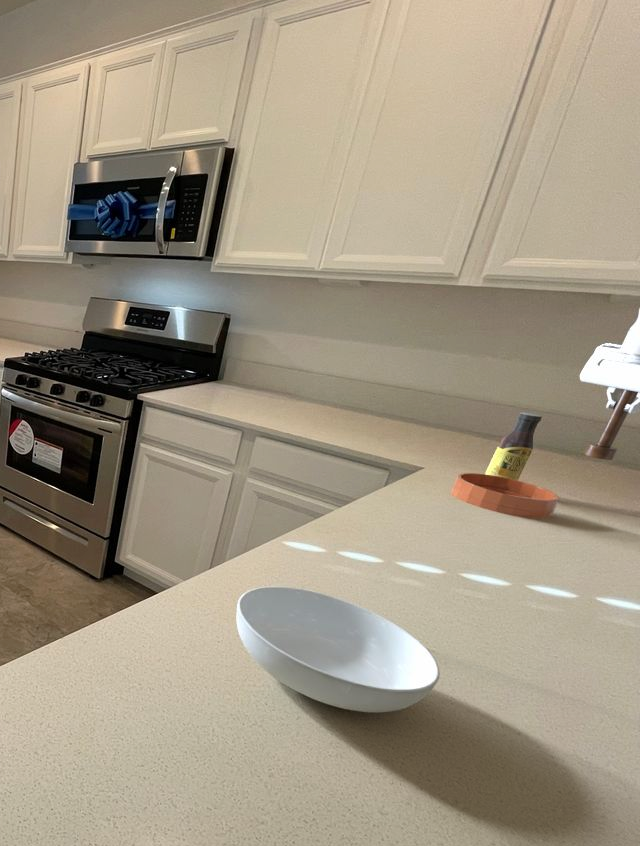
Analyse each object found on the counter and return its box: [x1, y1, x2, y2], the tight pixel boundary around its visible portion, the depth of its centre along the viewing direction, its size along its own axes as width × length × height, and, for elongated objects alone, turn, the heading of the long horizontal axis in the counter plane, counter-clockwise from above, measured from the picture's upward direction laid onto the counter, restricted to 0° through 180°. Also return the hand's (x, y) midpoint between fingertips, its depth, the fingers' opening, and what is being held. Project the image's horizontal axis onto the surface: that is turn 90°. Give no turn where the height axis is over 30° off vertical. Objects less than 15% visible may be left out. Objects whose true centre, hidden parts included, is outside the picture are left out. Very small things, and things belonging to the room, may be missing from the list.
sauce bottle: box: [484, 412, 543, 481], centre depth 148 cm, size 7×6×20 cm
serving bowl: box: [235, 585, 440, 713], centre depth 73 cm, size 21×21×7 cm
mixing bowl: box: [449, 472, 561, 520], centre depth 135 cm, size 17×17×6 cm
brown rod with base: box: [583, 390, 638, 461], centre depth 129 cm, size 4×4×17 cm
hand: (621, 411), depth 128 cm, fingers closed on brown rod with base, 2 cm apart
